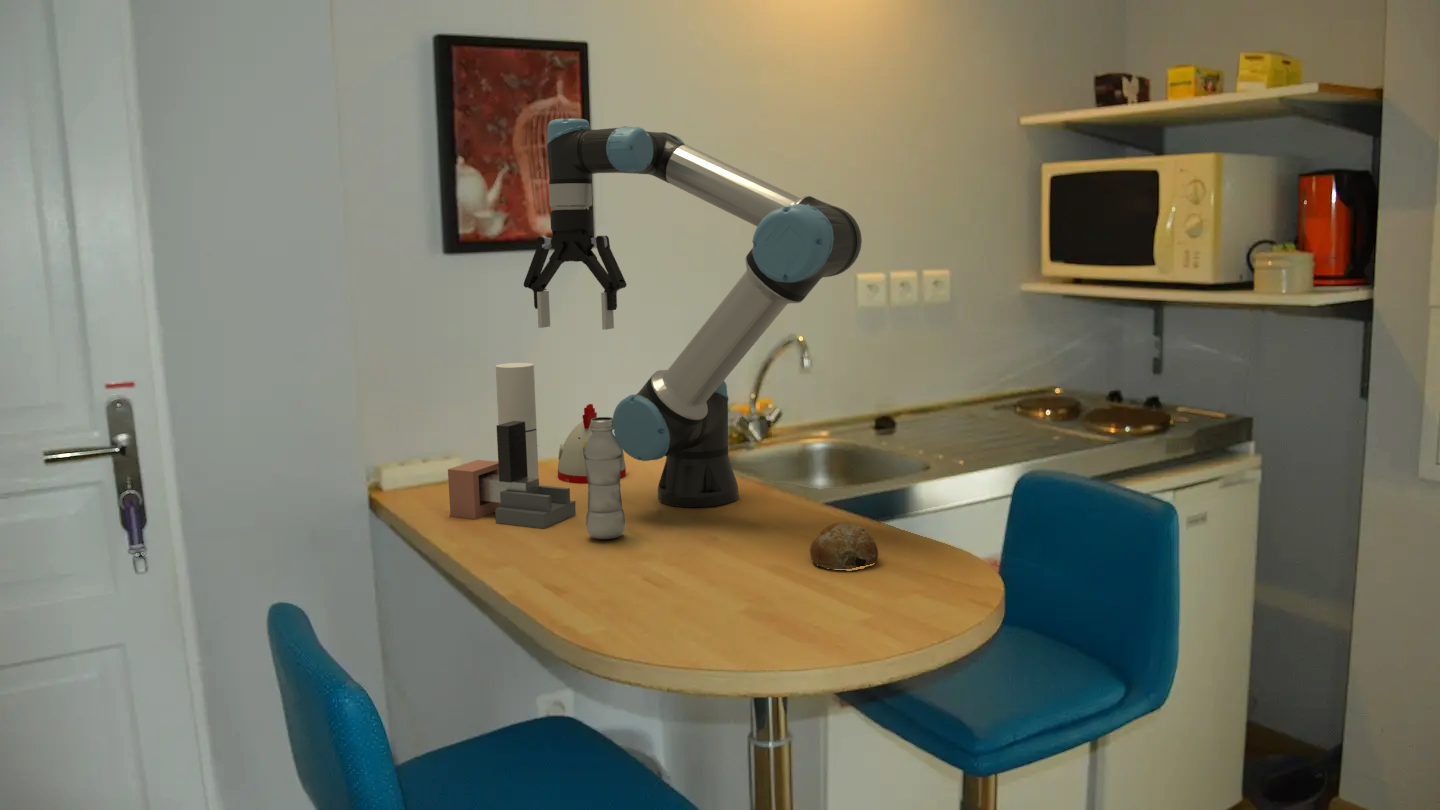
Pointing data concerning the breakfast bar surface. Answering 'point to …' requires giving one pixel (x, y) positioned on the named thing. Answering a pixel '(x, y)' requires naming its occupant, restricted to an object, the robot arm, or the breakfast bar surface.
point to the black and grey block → (509, 465)
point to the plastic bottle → (604, 481)
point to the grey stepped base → (535, 507)
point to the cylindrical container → (519, 405)
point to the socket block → (470, 489)
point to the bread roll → (843, 547)
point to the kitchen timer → (578, 451)
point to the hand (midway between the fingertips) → (575, 328)
